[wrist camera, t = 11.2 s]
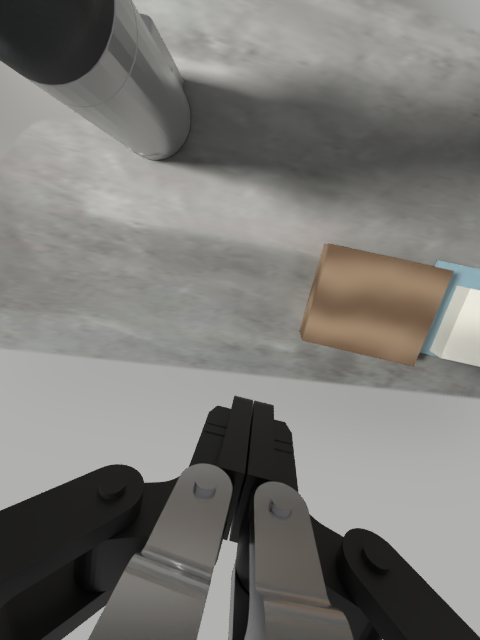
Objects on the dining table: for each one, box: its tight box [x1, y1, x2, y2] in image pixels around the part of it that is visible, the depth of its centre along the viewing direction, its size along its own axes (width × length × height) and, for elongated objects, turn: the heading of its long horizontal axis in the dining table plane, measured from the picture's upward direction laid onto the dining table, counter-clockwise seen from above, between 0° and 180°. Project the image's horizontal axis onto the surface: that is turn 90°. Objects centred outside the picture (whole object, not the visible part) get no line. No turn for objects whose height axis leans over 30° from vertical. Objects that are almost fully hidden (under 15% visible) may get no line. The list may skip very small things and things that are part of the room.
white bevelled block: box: [430, 286, 480, 367], centre depth 35 cm, size 9×6×2 cm, turn 169°
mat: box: [420, 260, 480, 357], centre depth 36 cm, size 12×12×1 cm
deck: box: [299, 244, 454, 367], centre depth 35 cm, size 12×14×4 cm
